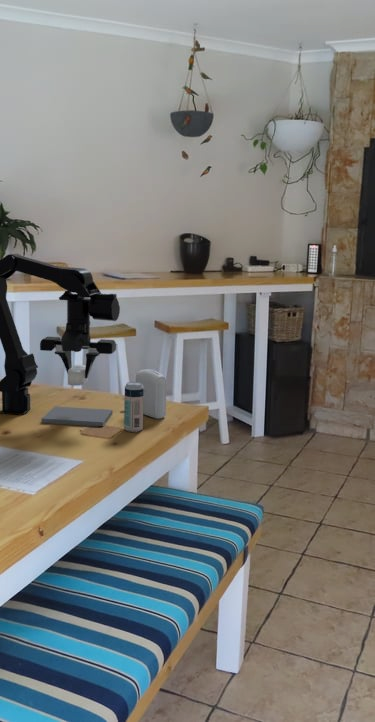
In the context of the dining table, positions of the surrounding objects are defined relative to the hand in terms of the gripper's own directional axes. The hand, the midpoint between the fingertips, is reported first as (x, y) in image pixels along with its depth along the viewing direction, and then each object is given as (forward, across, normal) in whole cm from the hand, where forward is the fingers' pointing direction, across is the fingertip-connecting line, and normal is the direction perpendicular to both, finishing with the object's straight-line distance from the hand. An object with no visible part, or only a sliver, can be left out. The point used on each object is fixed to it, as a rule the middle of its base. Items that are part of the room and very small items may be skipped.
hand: (78, 377), depth 180 cm
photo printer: (+11, +18, +8) cm, 23 cm away
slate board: (+11, 0, 0) cm, 11 cm away
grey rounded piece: (+1, 0, +1) cm, 2 cm away
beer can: (+11, +16, -7) cm, 21 cm away
